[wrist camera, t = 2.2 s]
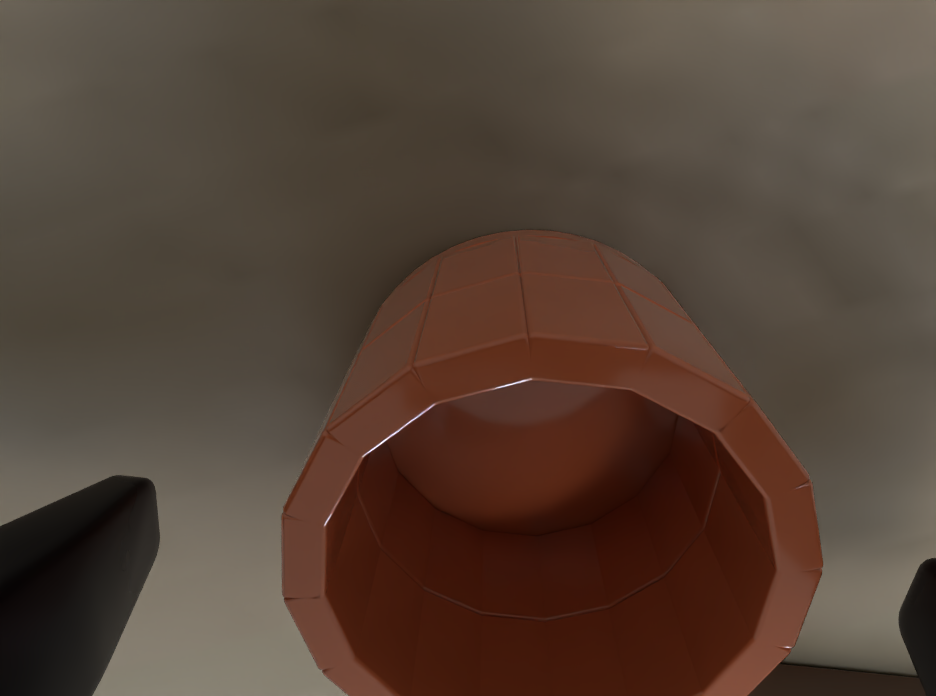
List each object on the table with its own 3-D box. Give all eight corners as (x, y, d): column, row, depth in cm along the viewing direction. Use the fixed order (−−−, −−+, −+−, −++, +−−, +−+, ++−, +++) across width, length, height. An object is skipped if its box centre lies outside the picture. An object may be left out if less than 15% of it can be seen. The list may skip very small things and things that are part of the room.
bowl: (351, 520, 13) (282, 743, 8) (363, 210, 10) (277, 306, 6) (661, 552, 13) (743, 790, 9) (739, 249, 10) (901, 371, 6)
